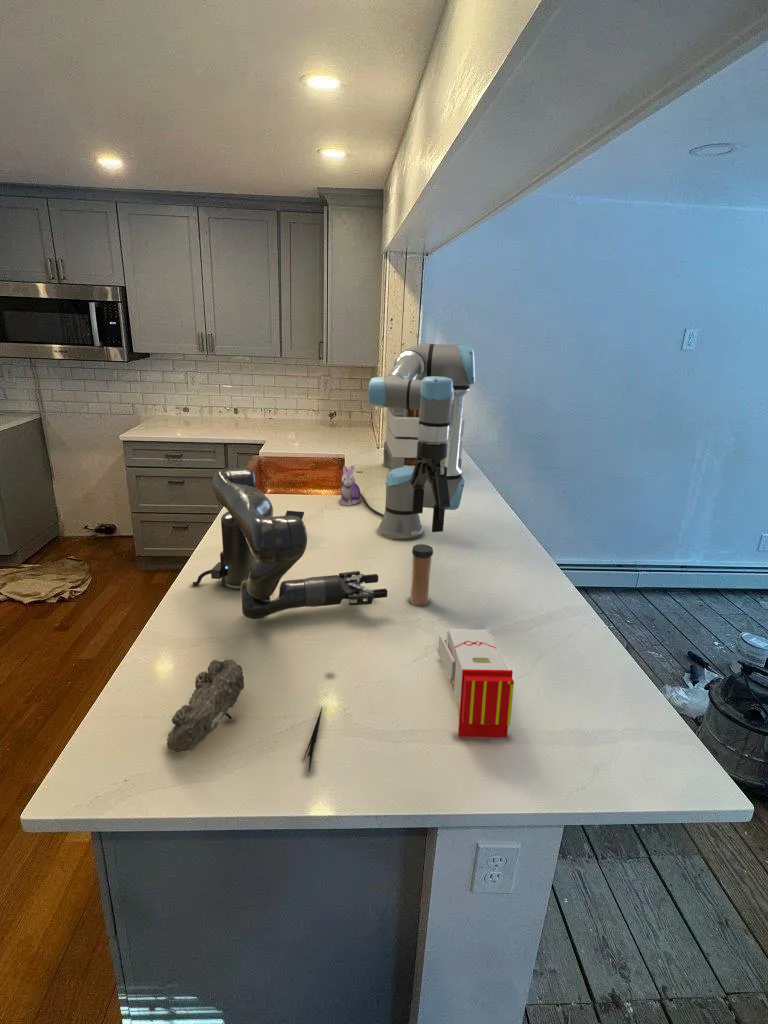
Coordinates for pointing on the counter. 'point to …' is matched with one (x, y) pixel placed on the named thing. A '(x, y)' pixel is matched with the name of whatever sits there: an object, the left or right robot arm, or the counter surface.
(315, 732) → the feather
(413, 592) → the jar
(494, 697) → the toy
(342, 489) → the figurine
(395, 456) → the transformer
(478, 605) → the counter surface
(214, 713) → the fossil
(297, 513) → the figurine character
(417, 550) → the lid
